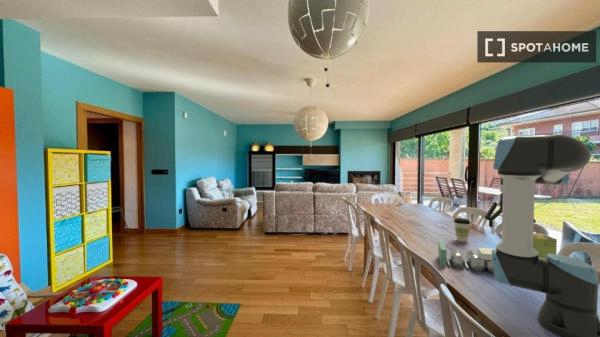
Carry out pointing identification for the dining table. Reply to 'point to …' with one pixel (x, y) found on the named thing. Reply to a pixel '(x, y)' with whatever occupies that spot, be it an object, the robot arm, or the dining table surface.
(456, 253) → the roller
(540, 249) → the protein box
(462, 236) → the coffee cup
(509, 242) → the robot arm
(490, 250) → the slab
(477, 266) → the roller bed
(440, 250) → the bar
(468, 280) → the dining table surface
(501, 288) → the dining table surface
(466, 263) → the cradle
